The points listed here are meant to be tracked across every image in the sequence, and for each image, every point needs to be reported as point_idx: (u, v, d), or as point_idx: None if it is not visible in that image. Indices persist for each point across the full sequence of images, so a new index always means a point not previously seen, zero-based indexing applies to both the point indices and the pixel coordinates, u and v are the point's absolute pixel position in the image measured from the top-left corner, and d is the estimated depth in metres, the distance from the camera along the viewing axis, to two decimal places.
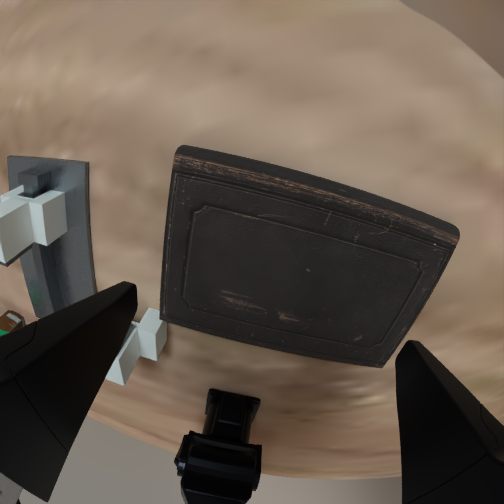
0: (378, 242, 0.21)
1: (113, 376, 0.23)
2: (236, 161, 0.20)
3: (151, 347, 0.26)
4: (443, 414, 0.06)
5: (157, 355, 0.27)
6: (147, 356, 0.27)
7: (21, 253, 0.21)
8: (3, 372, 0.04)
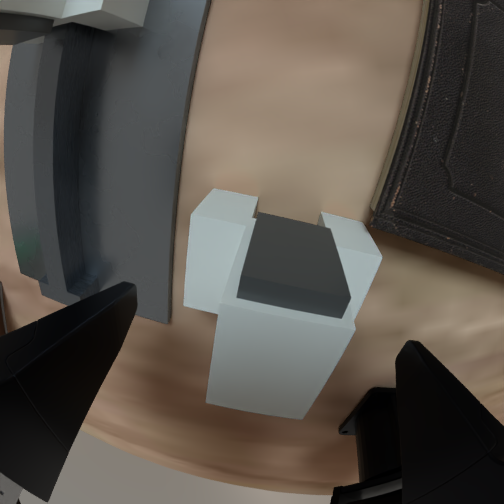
0: None
1: (277, 397, 0.07)
2: None
3: (350, 300, 0.11)
4: (443, 414, 0.06)
5: None
6: None
7: (21, 25, 0.05)
8: (3, 371, 0.04)
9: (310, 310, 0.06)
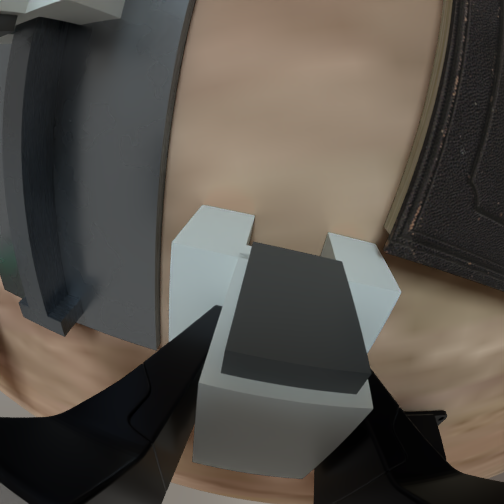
0: None
1: (274, 464, 0.06)
2: None
3: None
4: None
5: None
6: None
7: None
8: (135, 439, 0.04)
9: (317, 388, 0.05)
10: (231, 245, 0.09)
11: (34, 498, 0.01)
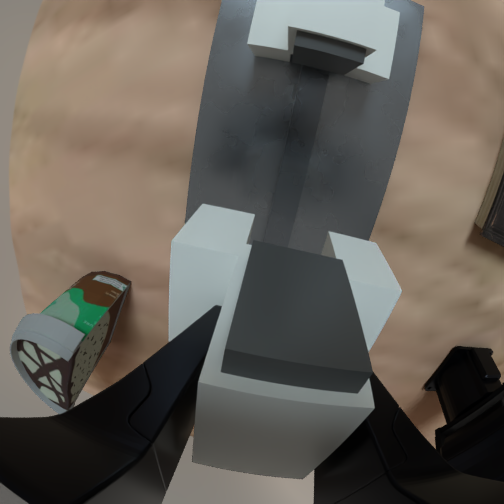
0: None
1: (274, 463, 0.06)
2: None
3: None
4: None
5: None
6: None
7: None
8: (135, 439, 0.04)
9: (318, 387, 0.04)
10: (231, 244, 0.08)
11: (34, 498, 0.01)
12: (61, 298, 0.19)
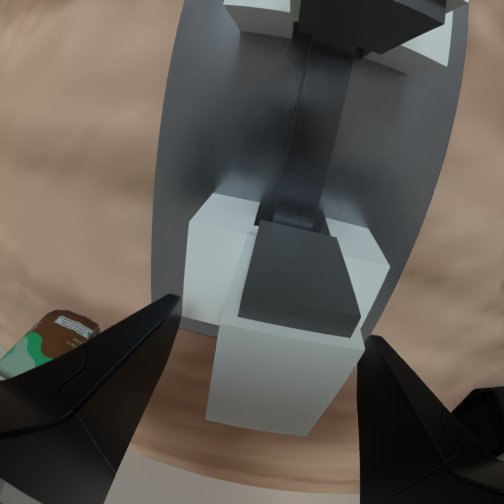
0: None
1: (280, 416, 0.07)
2: None
3: None
4: (399, 416, 0.06)
5: None
6: None
7: None
8: (60, 406, 0.04)
9: (317, 330, 0.06)
10: (240, 225, 0.10)
11: None
12: (19, 346, 0.14)
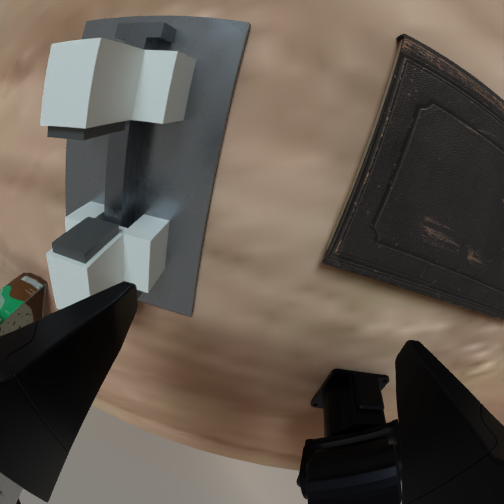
0: None
1: None
2: (461, 68, 0.12)
3: (142, 267, 0.18)
4: (443, 414, 0.06)
5: (149, 283, 0.19)
6: None
7: (109, 130, 0.12)
8: (3, 372, 0.04)
9: (74, 259, 0.14)
10: None
11: None
12: None
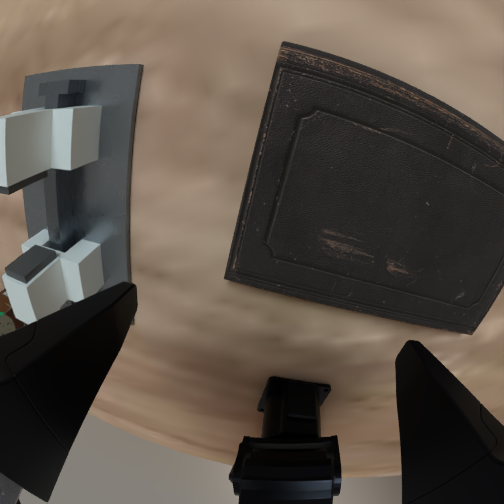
0: (490, 177, 0.15)
1: (27, 315, 0.17)
2: (356, 63, 0.13)
3: (76, 284, 0.20)
4: (443, 414, 0.06)
5: (85, 297, 0.21)
6: (75, 299, 0.21)
7: (31, 180, 0.14)
8: (3, 371, 0.04)
9: (19, 280, 0.15)
10: None
11: None
12: None
